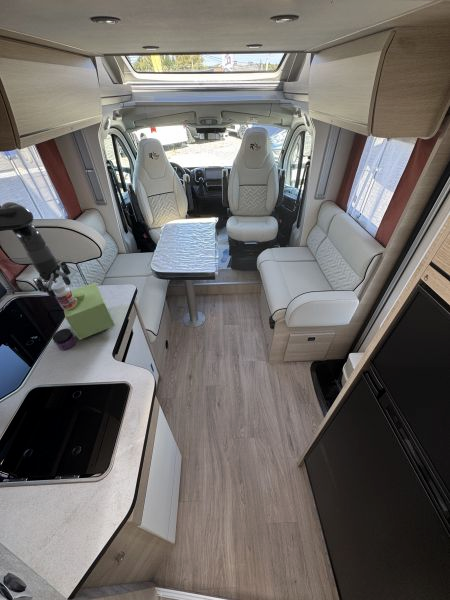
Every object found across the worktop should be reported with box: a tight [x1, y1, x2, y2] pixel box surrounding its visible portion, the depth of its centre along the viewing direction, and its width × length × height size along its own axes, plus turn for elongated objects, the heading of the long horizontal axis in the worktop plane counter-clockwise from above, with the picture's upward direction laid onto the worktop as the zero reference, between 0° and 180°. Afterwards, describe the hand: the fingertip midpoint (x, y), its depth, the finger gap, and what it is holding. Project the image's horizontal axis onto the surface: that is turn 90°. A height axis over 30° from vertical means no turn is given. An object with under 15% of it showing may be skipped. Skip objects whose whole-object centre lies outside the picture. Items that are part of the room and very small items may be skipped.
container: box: [63, 282, 116, 341], centre depth 121 cm, size 19×16×20 cm
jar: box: [53, 332, 78, 351], centre depth 117 cm, size 8×8×6 cm
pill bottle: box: [51, 281, 77, 310], centre depth 108 cm, size 6×6×11 cm
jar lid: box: [52, 328, 73, 344], centre depth 115 cm, size 8×8×1 cm
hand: (61, 290), depth 107 cm, fingers open, 7 cm apart
